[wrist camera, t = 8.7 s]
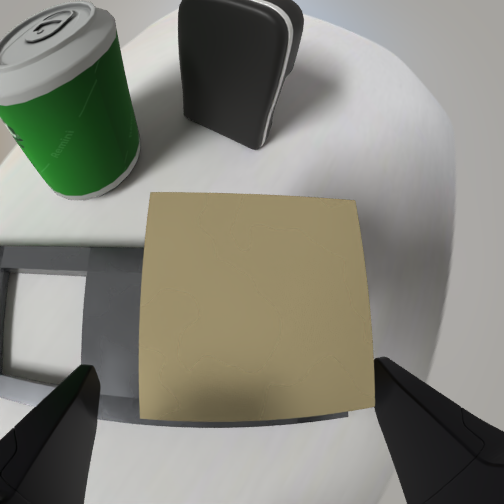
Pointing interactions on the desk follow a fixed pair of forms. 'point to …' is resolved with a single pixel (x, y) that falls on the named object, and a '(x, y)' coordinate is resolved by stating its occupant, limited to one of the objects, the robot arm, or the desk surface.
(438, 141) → the desk surface
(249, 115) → the battery charger
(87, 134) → the soda can
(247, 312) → the block
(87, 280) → the grey rectangular frame
